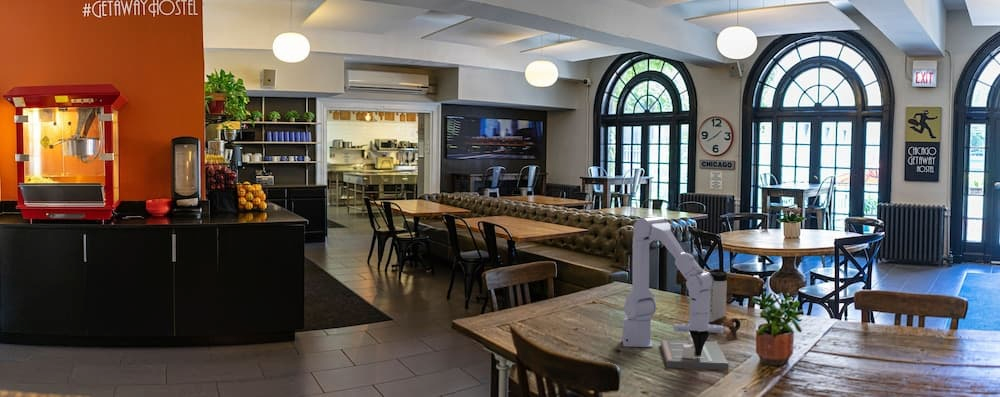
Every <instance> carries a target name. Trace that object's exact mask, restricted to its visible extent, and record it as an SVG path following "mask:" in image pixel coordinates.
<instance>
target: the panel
mask: <svg viewBox="0 0 1000 397" xmlns="http://www.w3.org/2000/svg"><path fill="white" fill-rule="evenodd" d="M683 344H689V343H688V340H683V339H682V340H681V339H680V340H679V339H660V347H661V350H662V354H663V357H664V361H665V365H666V367H667V368H677V369H679V368H680V369H696V370H697V369H699V370H701V369H702V370H724V371H726V370H727V371H728V370H729V362H728V360H727V359H726V357H725V355H724V353H723V350H722V348H720V346H719V343H718V342H717V341H714V340H713V341H708V340H706V342H705V344H704V346H703V349H702V352H701V356H696V352H695V351H694V358H684V357H683Z"/></svg>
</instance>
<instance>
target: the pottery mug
mask: <svg viewBox="0 0 1000 397" xmlns="http://www.w3.org/2000/svg"><path fill="white" fill-rule="evenodd" d="M721 323H724V325H723V326H725V327H726V328H728V329H729V331H730V332H729V333H727V334H726V337H727V340H728V341H731V340H734V339H737V338H738V336H737V335H738V334H737V332H738V331H739V330H740V328H741V321H740V320H739V318H736V317H734V318H731V319H729V318H727V315H726V316H723V317H720V318H718V319H716V320H714V321H713V322H709V324H711V325H720V326H721ZM712 333H713V334H715V333H714V332H712Z"/></svg>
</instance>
